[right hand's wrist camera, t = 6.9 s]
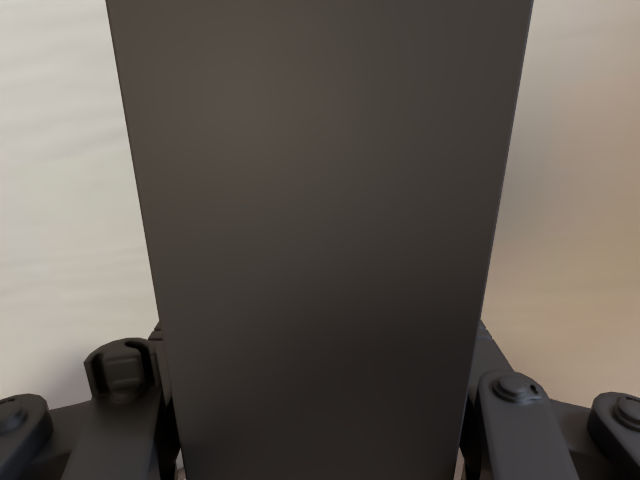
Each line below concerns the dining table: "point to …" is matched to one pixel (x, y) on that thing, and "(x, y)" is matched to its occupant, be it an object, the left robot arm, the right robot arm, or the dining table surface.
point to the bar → (319, 221)
